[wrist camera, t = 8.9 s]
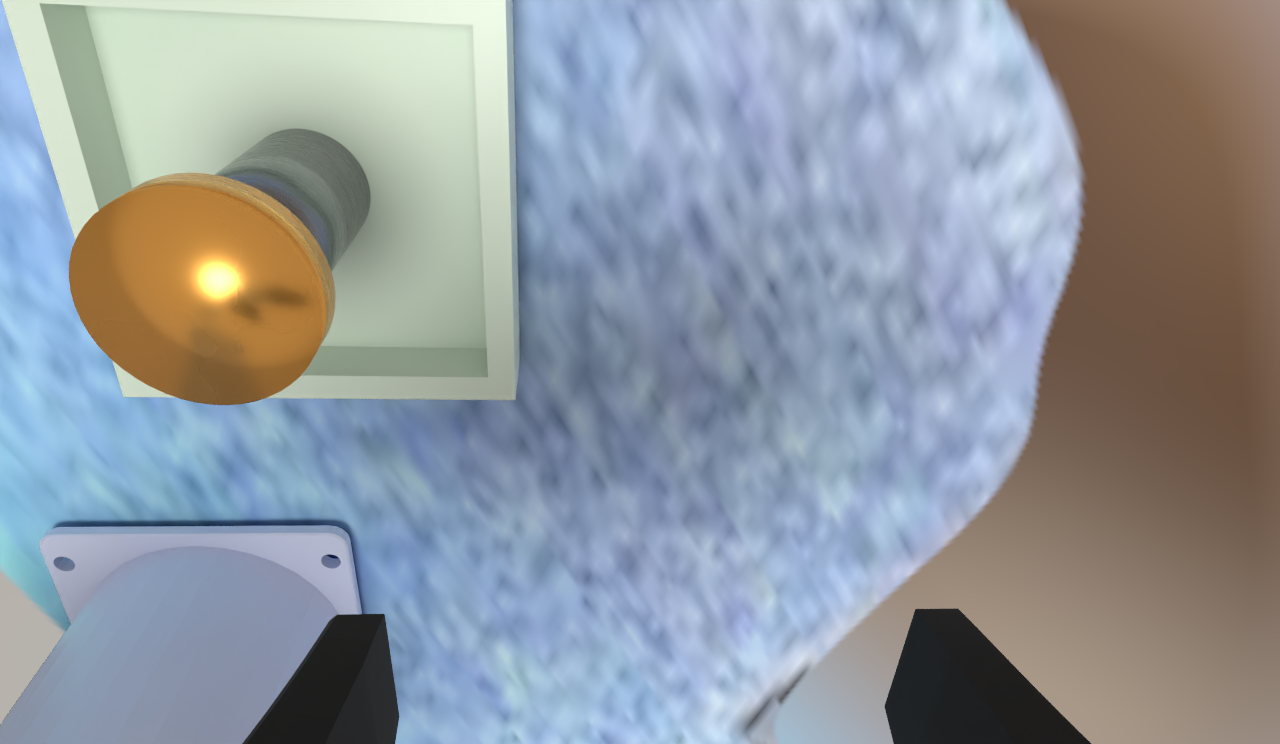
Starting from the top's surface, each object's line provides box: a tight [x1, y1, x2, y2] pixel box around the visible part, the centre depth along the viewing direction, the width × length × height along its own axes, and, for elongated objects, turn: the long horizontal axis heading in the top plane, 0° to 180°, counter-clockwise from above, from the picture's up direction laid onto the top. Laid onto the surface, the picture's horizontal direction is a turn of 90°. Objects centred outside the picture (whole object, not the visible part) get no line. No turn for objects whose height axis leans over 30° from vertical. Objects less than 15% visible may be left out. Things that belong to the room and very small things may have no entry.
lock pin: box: [69, 129, 371, 405], centre depth 15 cm, size 4×4×6 cm
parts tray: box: [2, 0, 520, 400], centre depth 17 cm, size 9×9×2 cm
